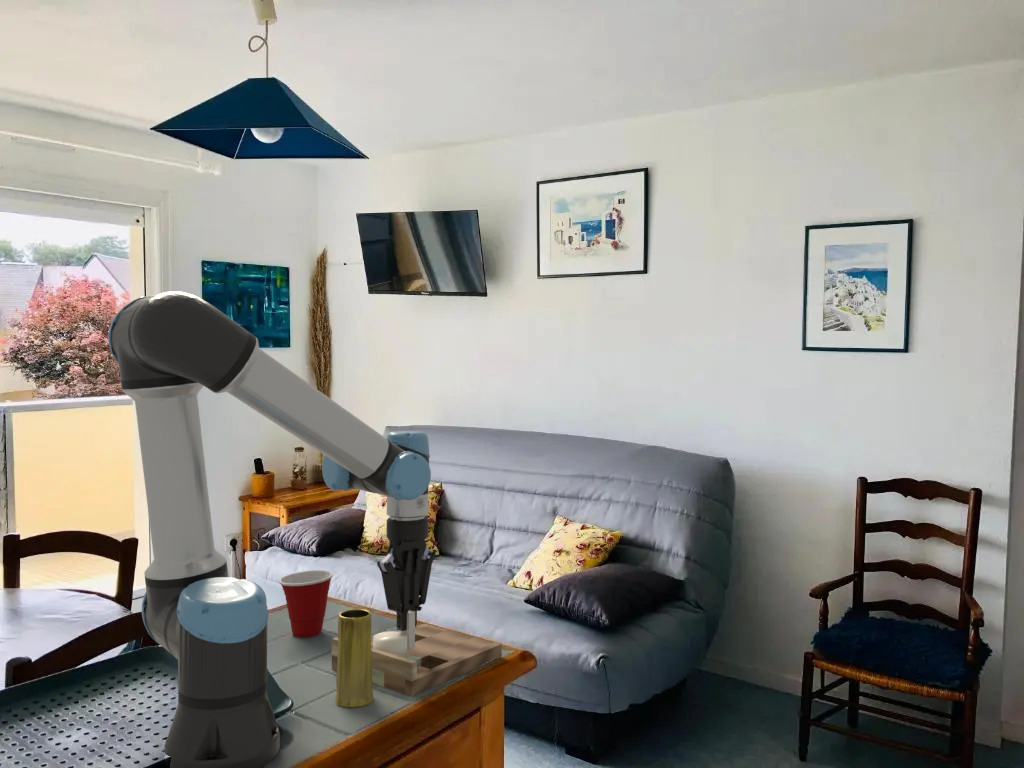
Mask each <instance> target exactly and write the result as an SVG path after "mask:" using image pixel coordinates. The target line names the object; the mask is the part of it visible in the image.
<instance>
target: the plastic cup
mask: <svg viewBox="0 0 1024 768" xmlns="http://www.w3.org/2000/svg"><path fill="white" fill-rule="evenodd" d="M333 576H334V574H333V572H332V571H330V570H324V569H323V570H322V569H317V570H316V569H314V570H305V571H298V572H294V573H290V574H287V575H284V576H282V577H281V578H279V580H278V583H279V584H280V585H281V587H282V590H283V592H284V596H285V600H286V606H287V613H288V617H289V621H290V626H291V633H292V635H293V636H294V637H297V638H312V637H316V636H318V635H321V633H322V630H323V626H324V619H325V617H326V609H327V604H328V603H327V602H328V597H329V591H330V585H331V581H332V578H333Z"/></svg>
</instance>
